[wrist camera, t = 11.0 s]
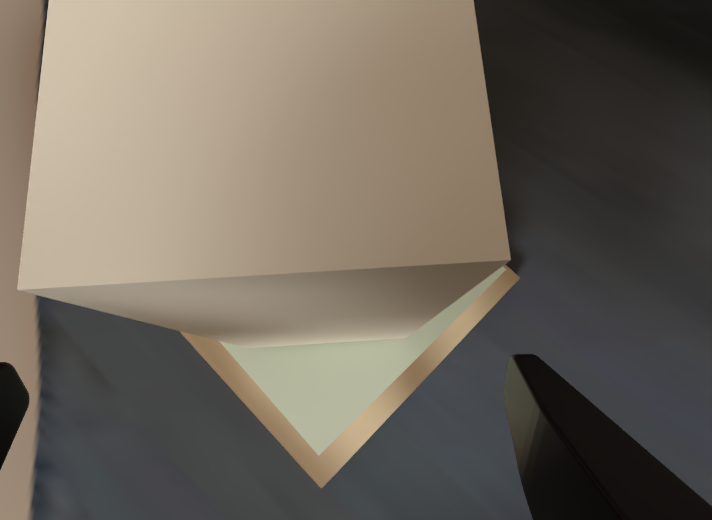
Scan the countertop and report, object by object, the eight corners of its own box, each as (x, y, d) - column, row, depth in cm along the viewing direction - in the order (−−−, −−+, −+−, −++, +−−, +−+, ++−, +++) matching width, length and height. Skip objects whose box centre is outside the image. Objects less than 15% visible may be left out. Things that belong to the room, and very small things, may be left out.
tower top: (323, 446, 19) (318, 455, 17) (170, 271, 21) (150, 262, 19) (492, 278, 20) (506, 269, 19) (336, 127, 22) (333, 105, 20)
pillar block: (406, 338, 18) (511, 260, 6) (247, 348, 18) (17, 289, 6) (393, 190, 19) (456, -121, 7) (246, 199, 19) (59, -102, 7)
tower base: (325, 477, 21) (321, 488, 19) (153, 287, 23) (132, 279, 21) (507, 285, 22) (520, 277, 20) (330, 124, 24) (327, 103, 23)
